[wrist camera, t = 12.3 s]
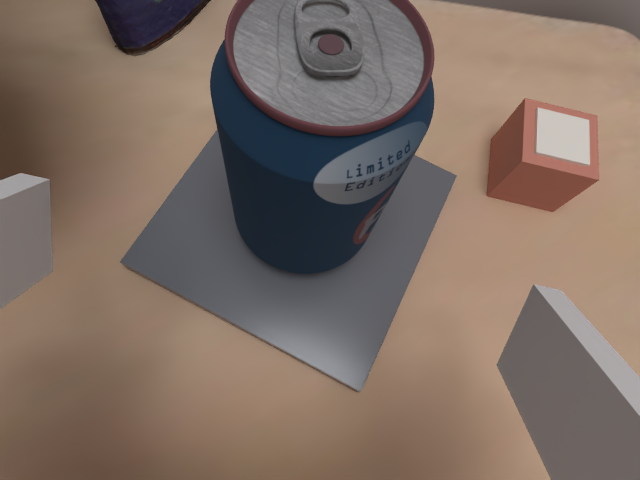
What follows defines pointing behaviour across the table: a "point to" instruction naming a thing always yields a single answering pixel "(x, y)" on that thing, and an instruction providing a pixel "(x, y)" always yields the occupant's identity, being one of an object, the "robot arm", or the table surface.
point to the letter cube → (543, 156)
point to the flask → (146, 21)
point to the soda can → (319, 121)
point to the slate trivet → (287, 287)
